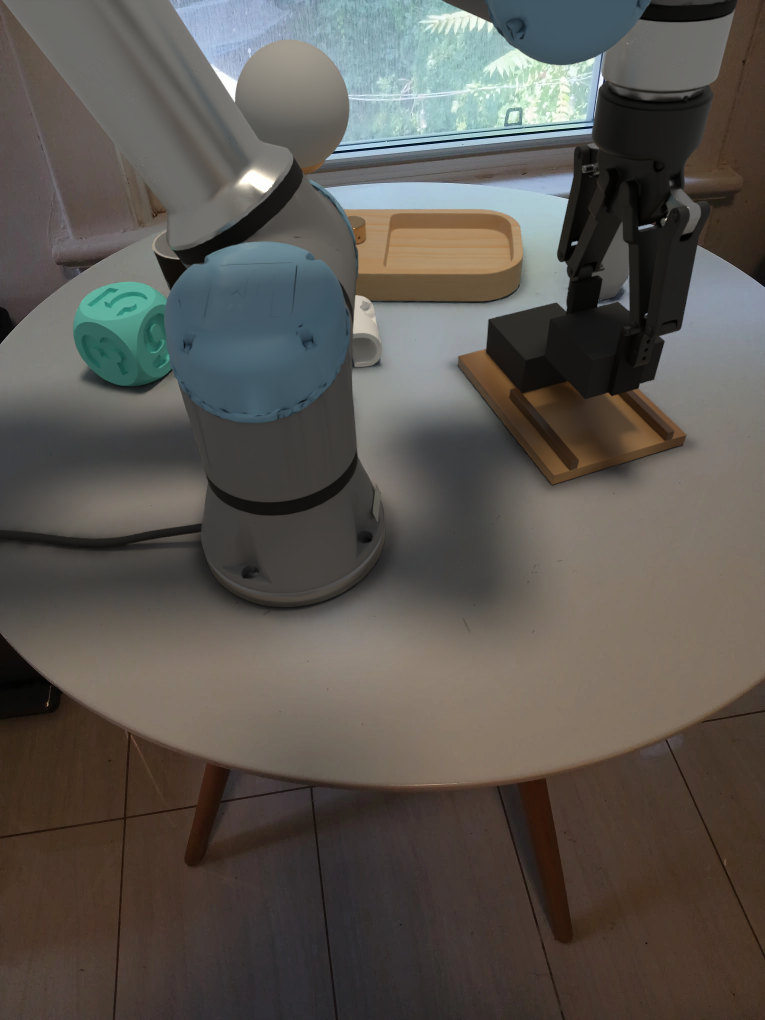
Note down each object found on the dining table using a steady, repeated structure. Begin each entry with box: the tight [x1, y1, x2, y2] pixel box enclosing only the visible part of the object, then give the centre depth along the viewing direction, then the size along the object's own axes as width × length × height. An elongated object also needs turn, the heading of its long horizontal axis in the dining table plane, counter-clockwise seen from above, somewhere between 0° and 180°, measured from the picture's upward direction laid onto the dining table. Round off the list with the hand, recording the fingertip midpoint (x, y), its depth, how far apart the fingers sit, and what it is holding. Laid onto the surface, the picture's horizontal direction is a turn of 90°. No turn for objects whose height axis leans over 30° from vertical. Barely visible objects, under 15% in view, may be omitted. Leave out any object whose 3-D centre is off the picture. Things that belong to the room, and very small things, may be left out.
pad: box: [485, 302, 567, 393], centre depth 75 cm, size 8×8×4 cm
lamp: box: [234, 39, 524, 302], centre depth 85 cm, size 33×17×25 cm, turn 86°
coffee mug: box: [151, 229, 187, 292], centre depth 84 cm, size 12×9×10 cm
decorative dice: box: [72, 281, 172, 387], centre depth 78 cm, size 8×8×8 cm
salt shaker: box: [592, 222, 629, 301], centre depth 83 cm, size 6×6×13 cm
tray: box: [457, 348, 687, 485], centre depth 73 cm, size 14×20×2 cm
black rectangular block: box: [545, 301, 666, 399], centre depth 64 cm, size 7×7×4 cm
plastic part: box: [352, 295, 383, 368], centre depth 77 cm, size 8×10×12 cm
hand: (598, 365), depth 66 cm, fingers closed on black rectangular block, 7 cm apart
